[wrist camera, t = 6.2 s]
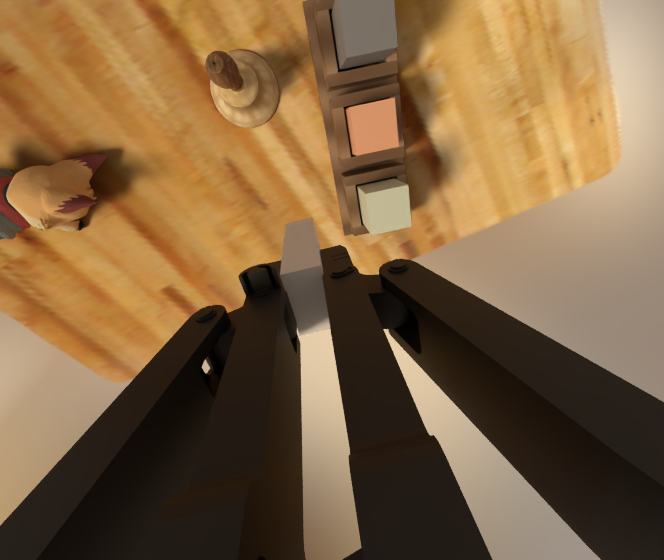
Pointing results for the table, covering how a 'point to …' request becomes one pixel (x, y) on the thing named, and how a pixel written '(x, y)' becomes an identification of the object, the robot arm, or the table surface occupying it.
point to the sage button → (385, 205)
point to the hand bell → (242, 87)
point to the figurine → (47, 195)
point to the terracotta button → (372, 127)
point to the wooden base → (338, 96)
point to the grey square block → (363, 31)
